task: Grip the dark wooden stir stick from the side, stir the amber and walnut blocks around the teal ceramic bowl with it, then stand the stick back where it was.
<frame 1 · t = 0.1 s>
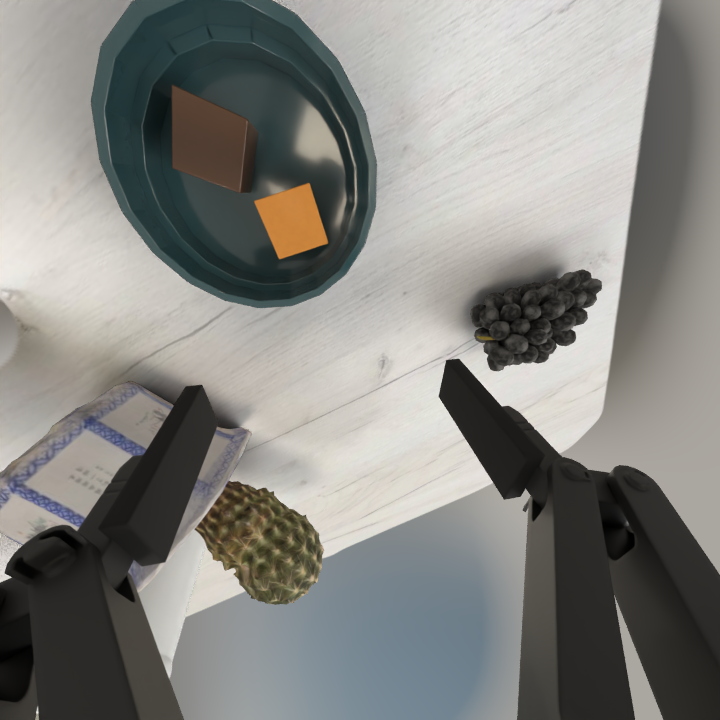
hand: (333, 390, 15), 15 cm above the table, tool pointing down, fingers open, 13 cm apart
potted plant: (225, 441, 36), on the table
bowl: (264, 187, 21), on the table
amber block: (295, 218, 22), point 1 cm above the table, touching bowl
utensil holder: (163, 528, 44), on the table
fruit: (515, 305, 32), on the table
walnut block: (225, 151, 19), point 1 cm above the table, touching bowl
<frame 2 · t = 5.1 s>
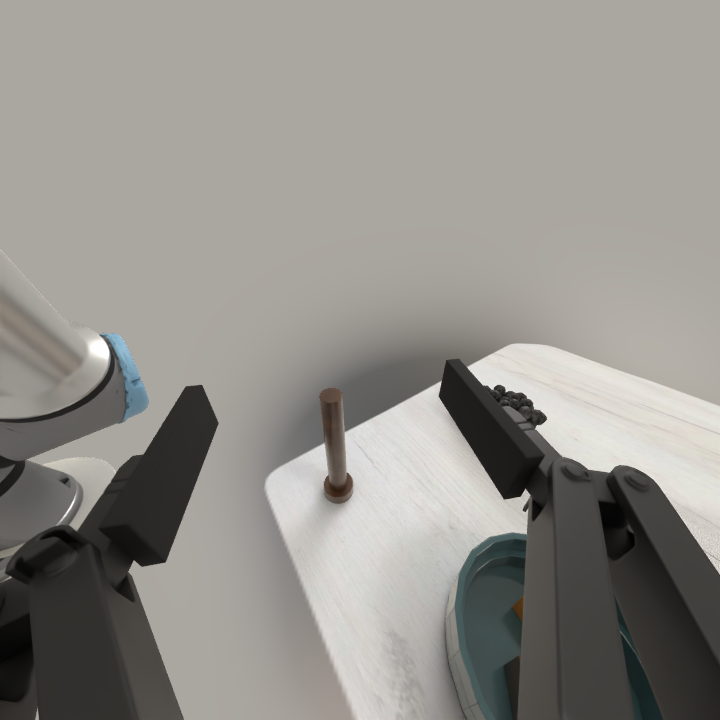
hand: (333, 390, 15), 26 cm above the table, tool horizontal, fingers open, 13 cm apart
bowl: (538, 662, 23), on the table
fruit: (488, 423, 47), on the table
stir stick: (339, 489, 37), on the table
walnut block: (536, 708, 21), point 1 cm above the table, touching bowl
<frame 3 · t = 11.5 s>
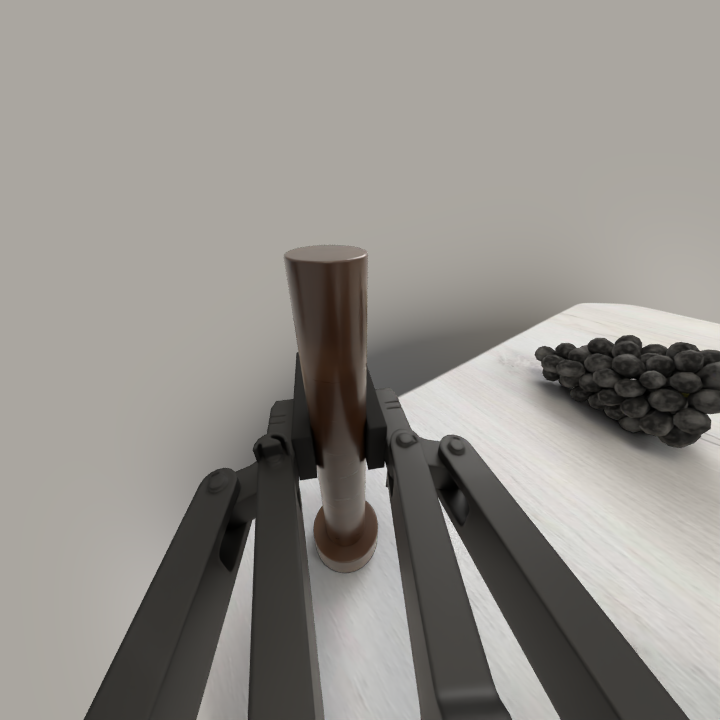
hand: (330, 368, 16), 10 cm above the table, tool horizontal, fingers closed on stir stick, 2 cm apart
fruit: (599, 404, 28), on the table
stir stick: (346, 535, 17), on the table, touching gripper
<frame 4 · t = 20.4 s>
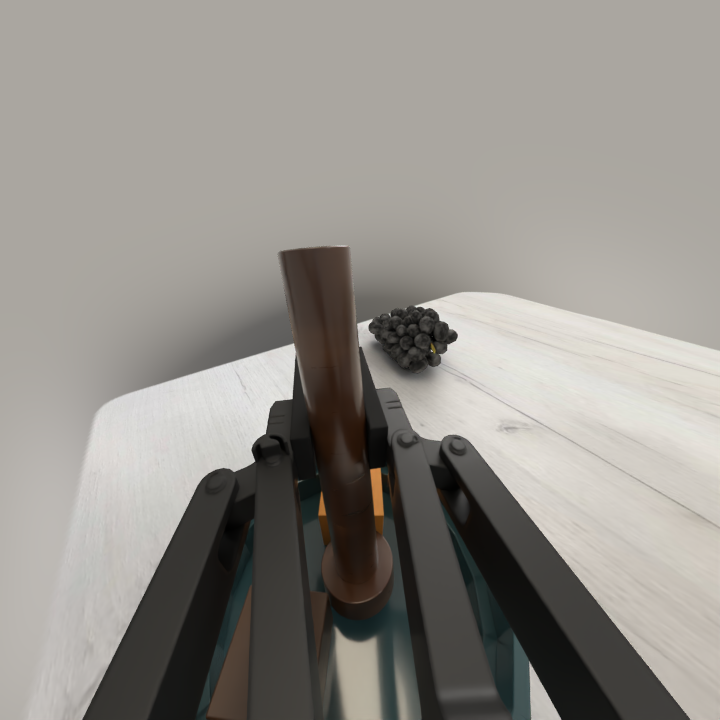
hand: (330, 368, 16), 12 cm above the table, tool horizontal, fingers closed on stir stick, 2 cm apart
bowl: (349, 598, 16), on the table
amber block: (353, 515, 20), point 1 cm above the table, touching bowl
fruit: (403, 355, 40), on the table
stir stick: (359, 576, 15), point 2 cm above the table, tilted 13°, touching gripper, walnut block
walnut block: (288, 665, 13), point 1 cm above the table, touching bowl, stir stick
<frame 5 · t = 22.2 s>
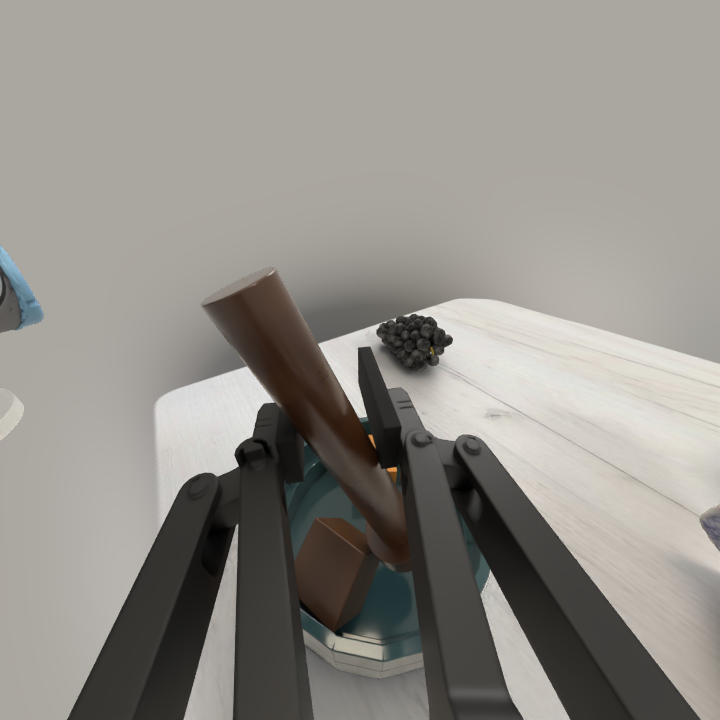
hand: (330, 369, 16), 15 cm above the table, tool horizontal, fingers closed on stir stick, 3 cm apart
bowl: (372, 531, 23), on the table
fruit: (406, 356, 47), on the table
stir stick: (401, 534, 17), point 6 cm above the table, tilted 21°, touching gripper, walnut block
walnut block: (349, 561, 19), point 2 cm above the table, tilted 33°, touching bowl, stir stick
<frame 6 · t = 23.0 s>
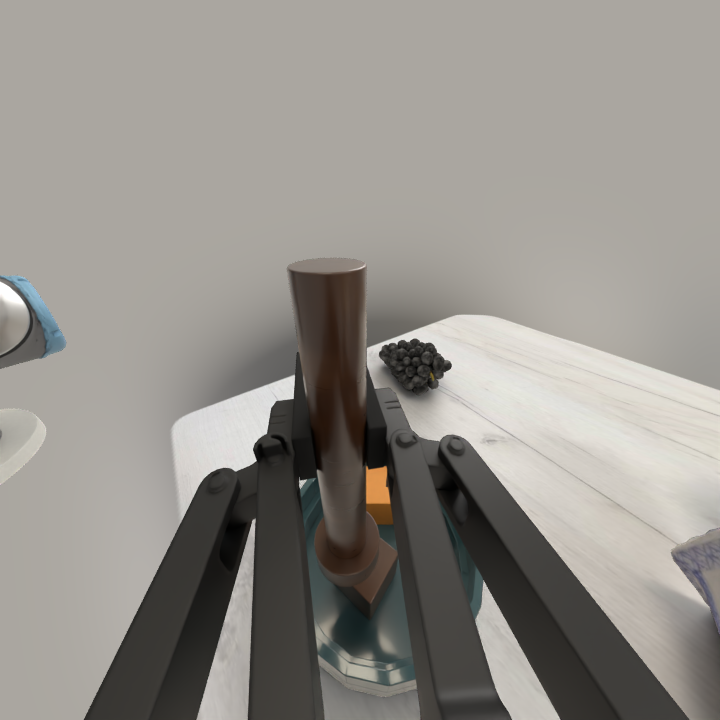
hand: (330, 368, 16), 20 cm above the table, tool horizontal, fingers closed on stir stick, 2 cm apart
bowl: (377, 557, 25), on the table
amber block: (376, 504, 28), point 1 cm above the table, touching bowl
fruit: (407, 377, 49), on the table
stir stick: (347, 548, 17), point 10 cm above the table, touching gripper
walnut block: (364, 577, 23), point 1 cm above the table, touching bowl
when the fingers open (10 cm above the table, at t = 29.8 s): stir stick stays where it is, on the table.
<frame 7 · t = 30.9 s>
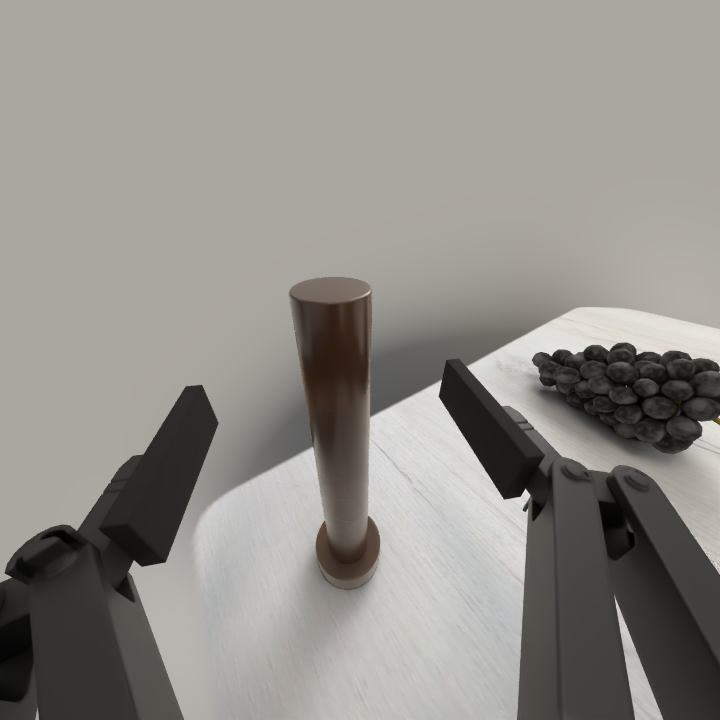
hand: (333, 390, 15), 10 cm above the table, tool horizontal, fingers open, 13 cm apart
fruit: (595, 409, 28), on the table
stir stick: (348, 550, 17), on the table
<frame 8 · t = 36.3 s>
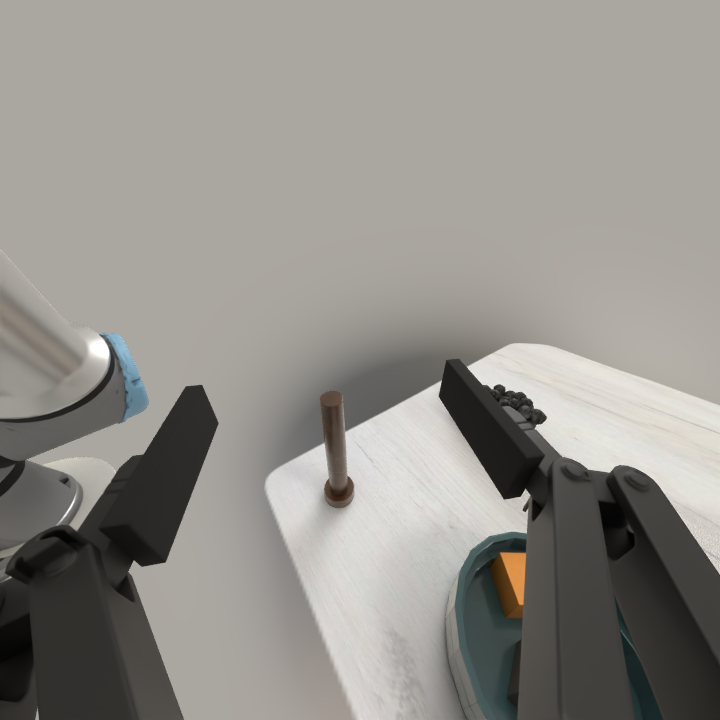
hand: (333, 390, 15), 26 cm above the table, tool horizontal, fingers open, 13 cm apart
bowl: (538, 661, 23), on the table
amber block: (516, 591, 27), point 1 cm above the table, touching bowl
fruit: (488, 422, 47), on the table
stir stick: (339, 493, 36), on the table
walnut block: (538, 690, 22), point 1 cm above the table, touching bowl
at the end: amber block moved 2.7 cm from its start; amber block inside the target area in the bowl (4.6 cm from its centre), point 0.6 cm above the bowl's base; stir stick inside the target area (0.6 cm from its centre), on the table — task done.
